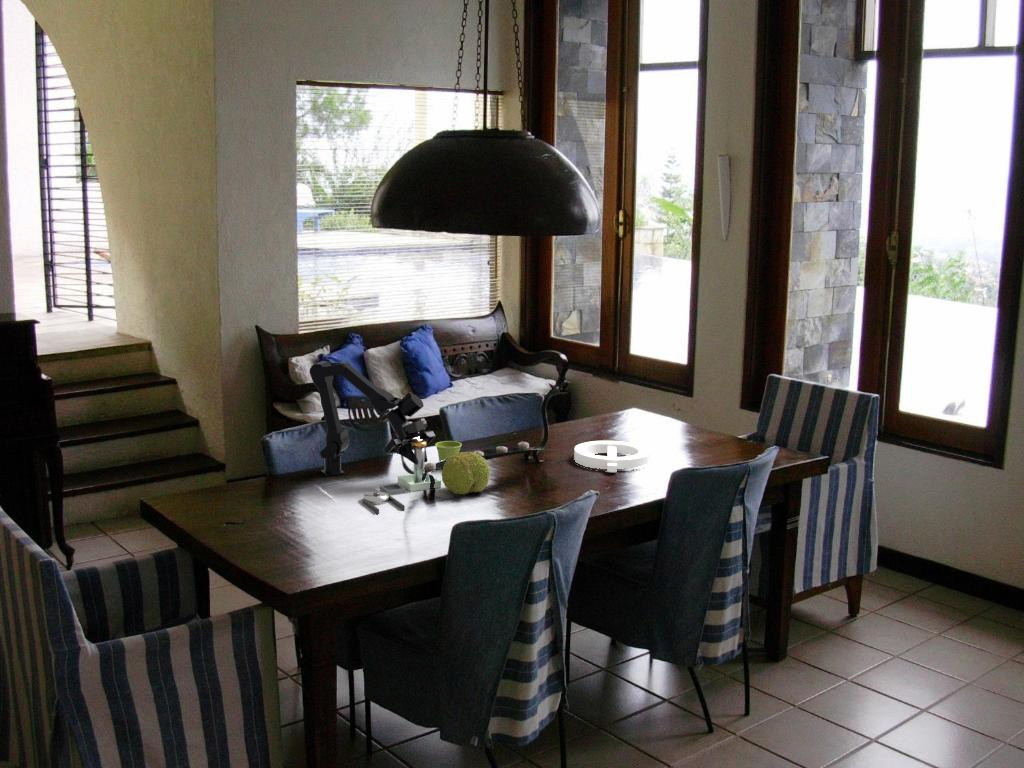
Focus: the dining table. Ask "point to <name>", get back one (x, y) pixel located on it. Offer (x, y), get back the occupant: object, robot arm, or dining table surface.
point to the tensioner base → (392, 489)
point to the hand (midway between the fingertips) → (421, 462)
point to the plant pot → (447, 449)
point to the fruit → (465, 473)
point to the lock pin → (419, 460)
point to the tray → (409, 484)
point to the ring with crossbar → (611, 455)
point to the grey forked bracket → (379, 500)
